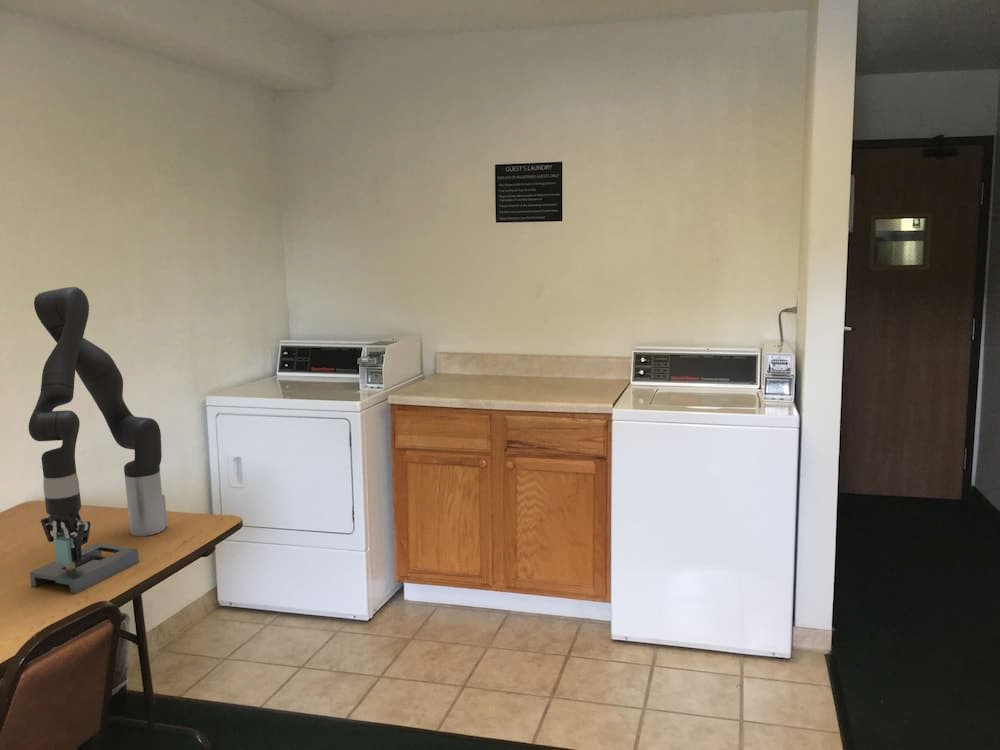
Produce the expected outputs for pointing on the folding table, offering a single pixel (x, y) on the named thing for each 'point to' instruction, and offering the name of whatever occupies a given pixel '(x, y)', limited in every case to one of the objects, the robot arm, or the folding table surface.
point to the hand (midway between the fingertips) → (69, 559)
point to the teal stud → (64, 553)
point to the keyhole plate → (87, 567)
